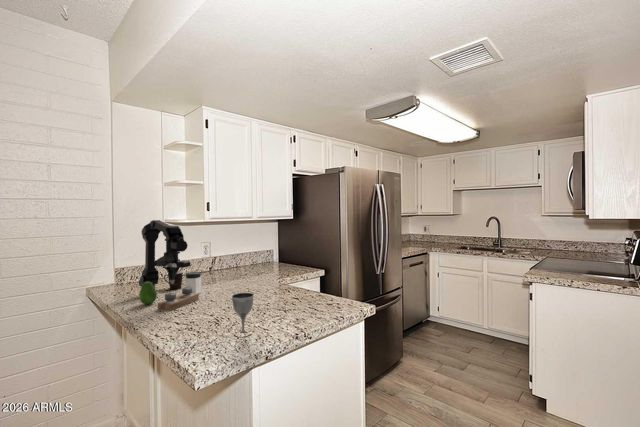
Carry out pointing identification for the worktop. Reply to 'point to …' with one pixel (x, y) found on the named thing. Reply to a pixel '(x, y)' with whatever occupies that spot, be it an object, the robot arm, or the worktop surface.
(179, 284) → the coffee mug
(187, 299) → the knob panel
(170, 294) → the knob
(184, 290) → the knob
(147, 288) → the avocado
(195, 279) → the jar
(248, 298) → the wine glass
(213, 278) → the worktop surface
